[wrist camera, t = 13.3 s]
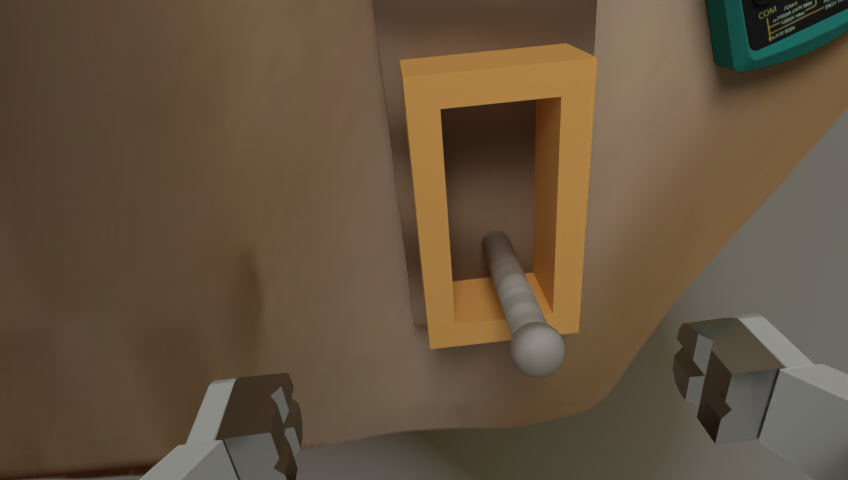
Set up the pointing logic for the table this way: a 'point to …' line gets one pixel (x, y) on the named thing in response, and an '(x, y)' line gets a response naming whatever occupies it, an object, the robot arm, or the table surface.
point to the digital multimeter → (772, 30)
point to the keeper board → (481, 151)
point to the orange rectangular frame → (554, 181)
